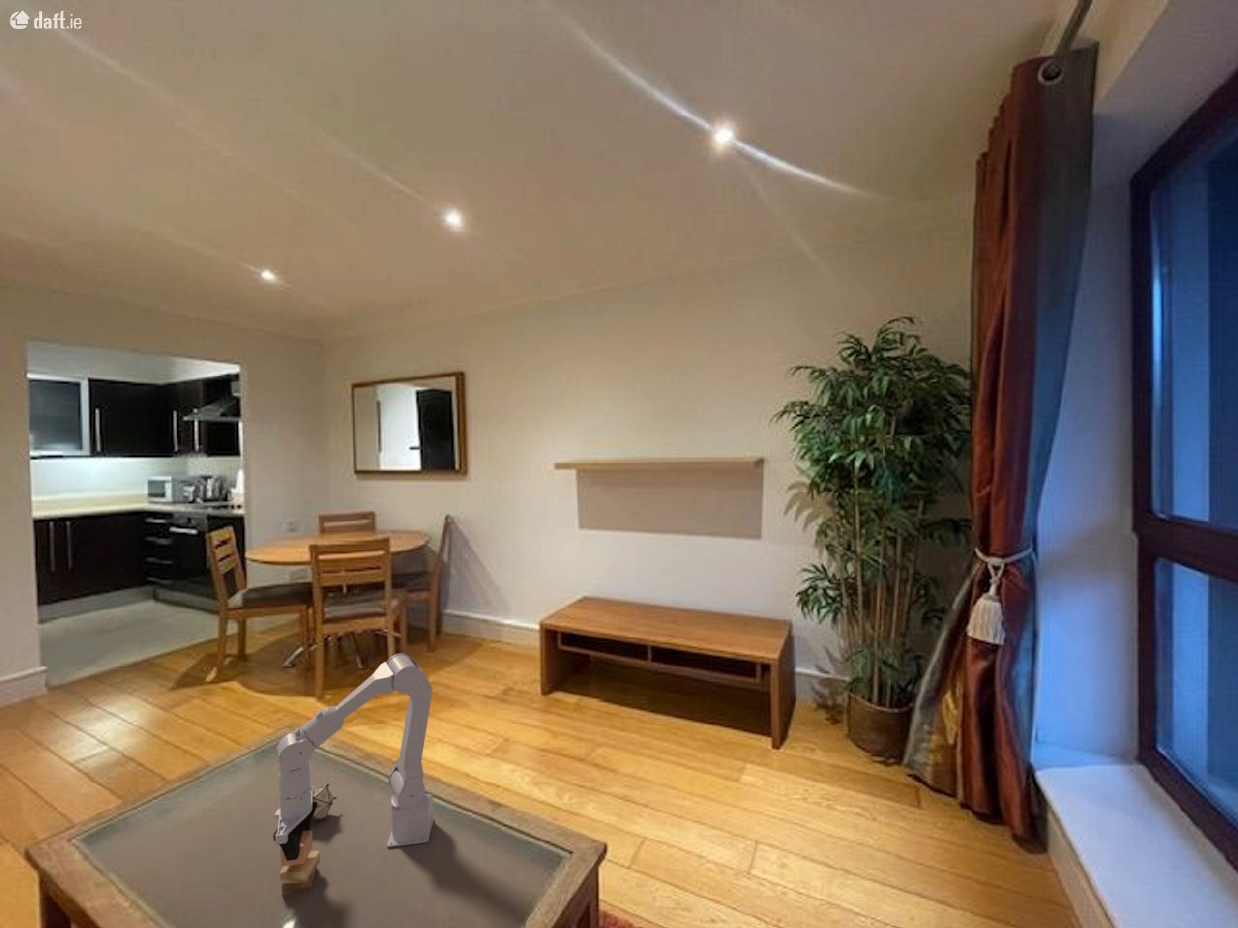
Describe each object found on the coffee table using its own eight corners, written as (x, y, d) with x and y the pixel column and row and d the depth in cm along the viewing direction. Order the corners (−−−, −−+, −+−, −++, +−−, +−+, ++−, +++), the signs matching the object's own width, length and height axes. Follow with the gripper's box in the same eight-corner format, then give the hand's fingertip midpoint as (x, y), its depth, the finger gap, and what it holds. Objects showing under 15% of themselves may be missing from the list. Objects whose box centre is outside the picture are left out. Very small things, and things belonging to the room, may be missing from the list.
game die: (319, 836, 131) (312, 824, 125) (292, 820, 133) (284, 807, 126) (346, 800, 138) (340, 786, 132) (320, 785, 140) (313, 771, 133)
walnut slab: (316, 869, 118) (316, 858, 118) (311, 889, 113) (311, 878, 112) (288, 876, 116) (288, 865, 116) (282, 897, 111) (281, 886, 111)
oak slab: (319, 861, 117) (319, 850, 117) (306, 882, 112) (306, 871, 111) (294, 862, 117) (294, 851, 117) (280, 883, 111) (279, 872, 111)
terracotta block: (312, 846, 116) (311, 829, 116) (304, 863, 112) (303, 845, 112) (290, 849, 115) (289, 832, 115) (281, 866, 111) (280, 848, 111)
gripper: (290, 770, 119) (292, 826, 120) (257, 817, 105) (260, 880, 106) (323, 767, 120) (325, 822, 121) (295, 812, 106) (298, 875, 107)
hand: (297, 849), depth 114 cm, fingers closed on terracotta block, 4 cm apart
